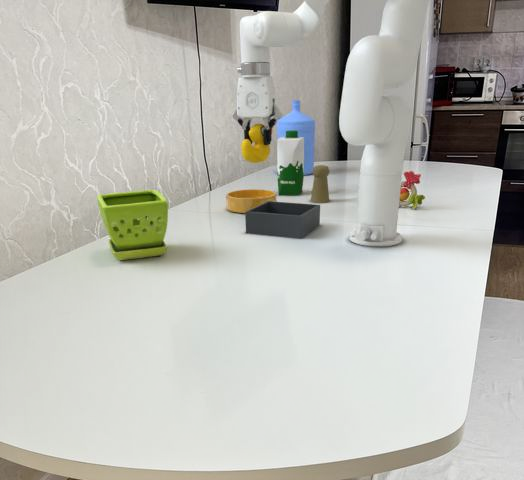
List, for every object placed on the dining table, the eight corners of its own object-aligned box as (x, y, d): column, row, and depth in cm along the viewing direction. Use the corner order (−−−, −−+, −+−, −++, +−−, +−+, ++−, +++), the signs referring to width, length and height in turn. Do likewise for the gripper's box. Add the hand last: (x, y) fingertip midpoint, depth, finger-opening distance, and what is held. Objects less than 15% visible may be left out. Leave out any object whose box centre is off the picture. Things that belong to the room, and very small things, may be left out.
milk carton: (304, 191, 185) (306, 130, 176) (300, 196, 178) (301, 132, 169) (280, 190, 187) (280, 130, 178) (275, 195, 180) (274, 132, 170)
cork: (307, 202, 169) (308, 166, 164) (315, 198, 174) (315, 163, 169) (325, 203, 166) (326, 167, 161) (332, 200, 171) (333, 164, 166)
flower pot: (104, 248, 125) (95, 193, 119) (162, 242, 129) (157, 189, 123) (111, 265, 113) (101, 205, 107) (174, 257, 117) (169, 199, 112)
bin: (300, 238, 130) (301, 216, 127) (245, 233, 135) (245, 211, 133) (319, 225, 141) (320, 204, 139) (268, 221, 147) (267, 201, 144)
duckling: (267, 159, 154) (264, 122, 150) (280, 159, 150) (277, 121, 146) (238, 164, 147) (234, 126, 143) (250, 165, 144) (247, 125, 140)
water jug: (320, 171, 225) (322, 99, 212) (302, 177, 213) (304, 101, 201) (288, 169, 233) (288, 99, 220) (270, 174, 221) (269, 101, 208)
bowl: (263, 215, 153) (263, 200, 150) (218, 212, 158) (217, 196, 156) (283, 205, 165) (283, 190, 163) (240, 202, 171) (240, 188, 169)
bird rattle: (396, 216, 158) (425, 206, 153) (384, 180, 155) (414, 168, 150) (400, 212, 163) (429, 202, 158) (389, 177, 160) (418, 166, 155)
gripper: (220, 72, 139) (225, 145, 147) (279, 69, 132) (280, 146, 140) (234, 72, 145) (237, 143, 153) (290, 70, 138) (291, 143, 146)
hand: (258, 143), depth 147 cm, fingers closed on duckling, 5 cm apart
